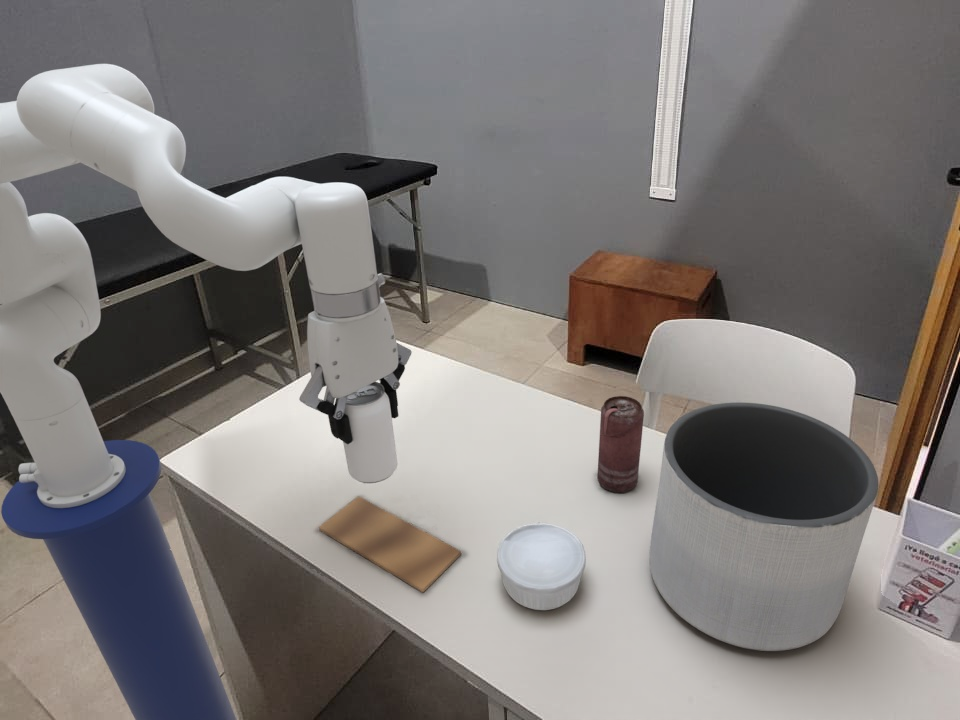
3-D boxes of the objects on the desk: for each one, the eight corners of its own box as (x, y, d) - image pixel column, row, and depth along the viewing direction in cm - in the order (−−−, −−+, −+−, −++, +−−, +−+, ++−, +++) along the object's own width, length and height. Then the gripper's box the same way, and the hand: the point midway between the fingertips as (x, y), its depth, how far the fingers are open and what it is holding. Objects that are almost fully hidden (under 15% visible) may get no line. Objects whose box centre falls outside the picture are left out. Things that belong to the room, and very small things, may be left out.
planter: (658, 504, 95) (673, 388, 86) (829, 538, 88) (865, 416, 78) (635, 628, 77) (650, 499, 67) (848, 684, 70) (899, 549, 60)
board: (319, 530, 94) (318, 527, 94) (358, 498, 99) (358, 496, 99) (423, 593, 83) (422, 589, 83) (461, 554, 89) (461, 551, 88)
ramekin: (552, 539, 90) (552, 510, 88) (602, 594, 82) (604, 564, 79) (482, 571, 86) (480, 542, 83) (527, 633, 77) (527, 603, 75)
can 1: (344, 461, 87) (330, 385, 81) (391, 449, 89) (381, 374, 83) (354, 490, 82) (340, 411, 76) (403, 476, 84) (393, 399, 78)
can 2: (587, 481, 101) (591, 406, 94) (613, 463, 104) (618, 389, 97) (619, 500, 97) (625, 423, 90) (645, 480, 100) (652, 405, 93)
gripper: (386, 266, 81) (401, 388, 90) (260, 313, 70) (291, 445, 79) (425, 281, 76) (437, 408, 85) (297, 333, 66) (325, 471, 75)
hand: (366, 425), depth 82 cm, fingers closed on can 1, 6 cm apart
